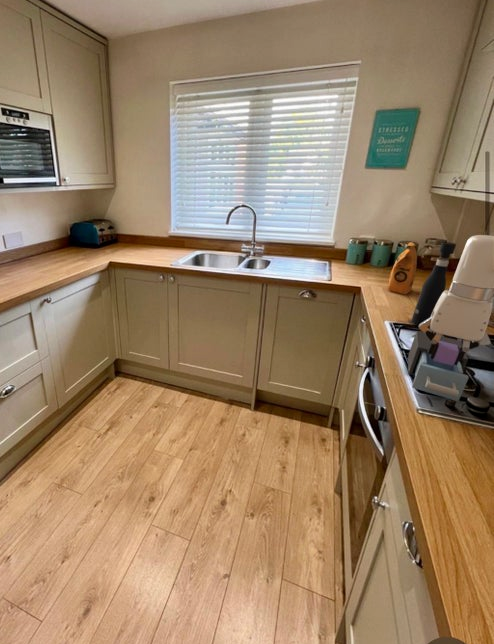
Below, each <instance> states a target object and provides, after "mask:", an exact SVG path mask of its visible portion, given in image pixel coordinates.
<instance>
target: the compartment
mask: <svg viewBox="0 0 494 644" xmlns="http://www.w3.org/2000/svg"><path fill="white" fill-rule="evenodd" d="M439 341H442V342H447V343H451V344H455V345H457V346H459V345H461V340H459V339H455V338H450V337H446V336H442V337H441V338H440V340H439ZM430 343H431V341H430V339H429V338H428V337H427V335H426V334H425V333H424V332H422V331H421V330H420V331H419V330H416V332H415V334H414V337H413V340H412V342H411V346H410V349H409V352H408V355H407V372H408V373H407V374H408V375H409V376H414V377H415V367H416V364H417V361H418V359H419V356H420V353H421V351H424V352H428V348H429V346H430ZM468 361H469V359H468V355H467V352H465V355H464V357H463V359H462V361H461V362H460V364H461V367H462V371H463V372H464V370H465V368H466V365H467V363H468Z"/></svg>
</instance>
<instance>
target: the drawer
mask: <svg viewBox="0 0 494 644" xmlns="http://www.w3.org/2000/svg"><path fill="white" fill-rule="evenodd" d="M468 380H469V375H468V374H464V370H463V371H462V367H461V364H460V361H459V362H458V364H457V365H454V366H452V365H448V364H444V363H440V362H437V361H434V360H433V359H430V354H429V353H428V352H424V351H421V353H420V356H419V359H418V361H417V364H416V367H415V376H414V379H413V381H412V384H411V388H412V389H415V390H419V391H422V392H425V393H429V394H432V395H436V396H438V397H442V398H445V399H449V400H453V401H455V402H459V401H460V399H461V397H462V394H463V392H464V389H465V388H466V385H467V382H468Z"/></svg>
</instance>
